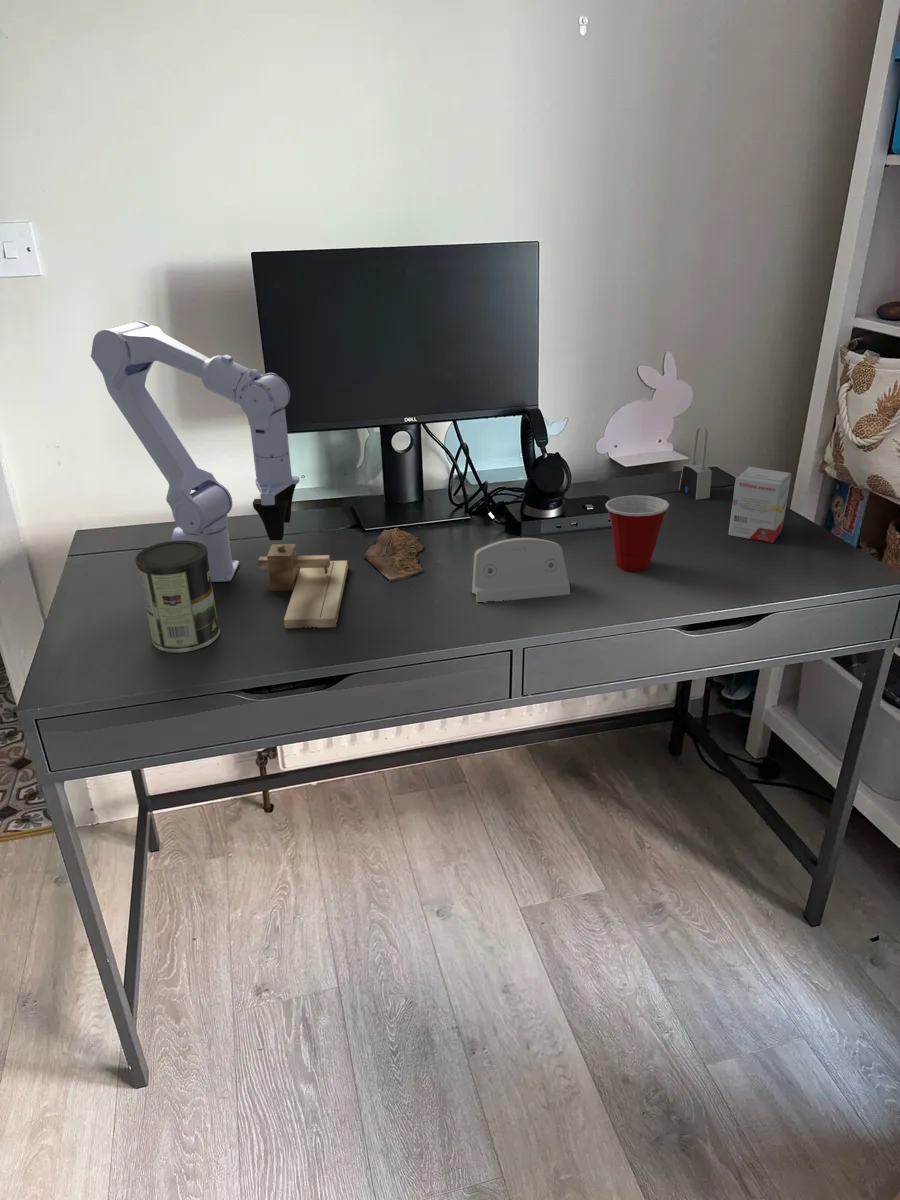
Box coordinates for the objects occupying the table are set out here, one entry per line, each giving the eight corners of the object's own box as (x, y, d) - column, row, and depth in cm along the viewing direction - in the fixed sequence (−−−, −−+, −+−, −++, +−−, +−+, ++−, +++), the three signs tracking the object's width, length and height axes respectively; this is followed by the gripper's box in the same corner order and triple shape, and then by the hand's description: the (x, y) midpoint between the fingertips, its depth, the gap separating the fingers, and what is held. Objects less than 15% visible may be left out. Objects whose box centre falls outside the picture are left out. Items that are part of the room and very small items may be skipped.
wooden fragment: (423, 582, 151) (423, 577, 150) (360, 584, 150) (360, 578, 150) (423, 527, 174) (423, 522, 173) (368, 528, 173) (368, 523, 173)
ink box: (783, 529, 169) (793, 471, 164) (772, 544, 163) (782, 484, 157) (739, 521, 173) (747, 464, 168) (726, 535, 167) (735, 476, 161)
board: (284, 628, 136) (283, 619, 135) (303, 569, 156) (302, 561, 155) (335, 627, 136) (335, 618, 135) (347, 568, 156) (347, 560, 155)
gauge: (259, 591, 148) (254, 552, 145) (264, 578, 152) (259, 540, 149) (329, 589, 148) (326, 551, 145) (332, 577, 152) (329, 539, 149)
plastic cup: (630, 548, 162) (636, 487, 157) (675, 567, 154) (682, 503, 149) (588, 562, 156) (592, 500, 151) (632, 583, 148) (638, 518, 143)
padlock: (711, 497, 185) (720, 428, 179) (694, 500, 184) (703, 431, 177) (693, 487, 191) (701, 420, 184) (677, 490, 190) (684, 422, 183)
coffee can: (207, 614, 140) (194, 534, 134) (229, 640, 133) (217, 557, 126) (143, 632, 135) (126, 549, 129) (162, 660, 128) (146, 574, 121)
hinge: (475, 603, 143) (470, 542, 141) (469, 600, 147) (465, 541, 146) (572, 594, 145) (569, 534, 144) (564, 591, 150) (561, 533, 149)
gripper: (289, 466, 133) (297, 547, 139) (302, 439, 146) (309, 514, 152) (243, 467, 133) (253, 548, 139) (260, 440, 146) (269, 515, 152)
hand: (280, 530), depth 146 cm, fingers open, 7 cm apart
